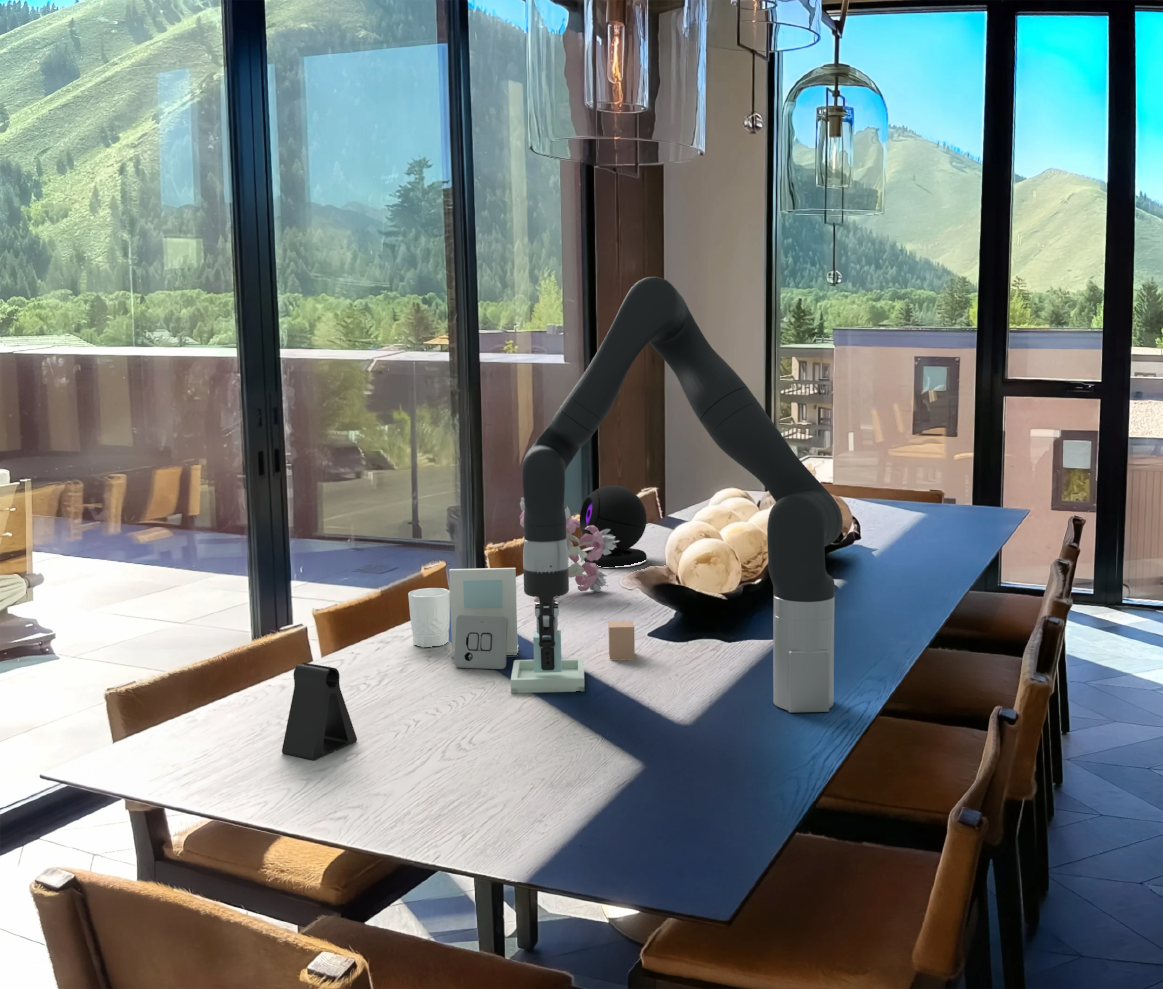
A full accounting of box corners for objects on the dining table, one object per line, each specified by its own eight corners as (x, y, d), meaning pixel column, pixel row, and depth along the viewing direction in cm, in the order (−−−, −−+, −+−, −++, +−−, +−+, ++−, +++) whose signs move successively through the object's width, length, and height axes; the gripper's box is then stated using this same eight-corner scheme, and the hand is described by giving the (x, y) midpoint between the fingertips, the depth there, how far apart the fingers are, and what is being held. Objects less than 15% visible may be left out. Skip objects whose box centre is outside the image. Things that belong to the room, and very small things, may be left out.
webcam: (572, 558, 306) (571, 483, 303) (633, 554, 311) (632, 480, 308) (593, 570, 289) (591, 491, 287) (656, 565, 294) (656, 487, 292)
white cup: (401, 646, 220) (399, 594, 219) (426, 636, 227) (424, 586, 226) (436, 650, 216) (434, 598, 215) (459, 640, 223) (458, 589, 222)
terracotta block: (634, 659, 208) (634, 627, 207) (609, 660, 208) (609, 627, 207) (633, 653, 212) (633, 621, 211) (608, 653, 212) (608, 621, 211)
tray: (584, 691, 189) (584, 678, 189) (511, 693, 189) (510, 679, 189) (583, 670, 201) (583, 658, 201) (514, 672, 201) (514, 660, 201)
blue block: (561, 672, 192) (560, 637, 192) (534, 672, 192) (533, 637, 192) (561, 664, 197) (560, 630, 196) (535, 665, 197) (534, 630, 196)
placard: (517, 656, 211) (515, 569, 209) (451, 657, 211) (448, 571, 209) (518, 648, 216) (516, 564, 214) (454, 650, 216) (451, 566, 214)
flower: (605, 604, 245) (620, 492, 252) (501, 592, 248) (519, 482, 255) (612, 624, 264) (627, 519, 271) (516, 612, 267) (533, 509, 274)
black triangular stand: (326, 735, 170) (322, 655, 169) (357, 741, 167) (353, 660, 166) (281, 754, 163) (277, 671, 161) (312, 761, 160) (308, 676, 158)
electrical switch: (453, 668, 204) (453, 616, 204) (462, 663, 209) (462, 612, 209) (504, 671, 202) (504, 618, 202) (512, 665, 207) (512, 614, 207)
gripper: (568, 573, 185) (570, 677, 188) (568, 557, 200) (570, 653, 202) (521, 574, 185) (524, 678, 188) (525, 558, 199) (527, 654, 202)
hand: (548, 665), depth 195 cm, fingers closed on blue block, 4 cm apart
